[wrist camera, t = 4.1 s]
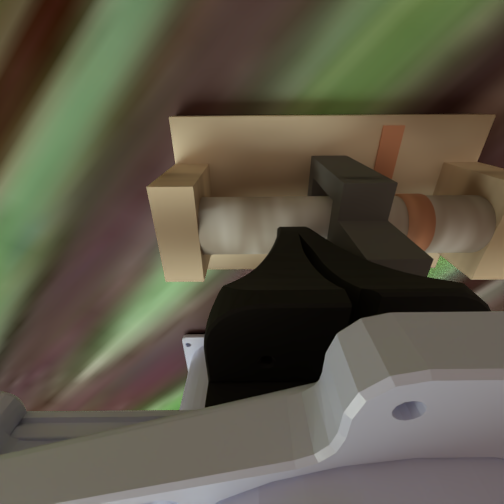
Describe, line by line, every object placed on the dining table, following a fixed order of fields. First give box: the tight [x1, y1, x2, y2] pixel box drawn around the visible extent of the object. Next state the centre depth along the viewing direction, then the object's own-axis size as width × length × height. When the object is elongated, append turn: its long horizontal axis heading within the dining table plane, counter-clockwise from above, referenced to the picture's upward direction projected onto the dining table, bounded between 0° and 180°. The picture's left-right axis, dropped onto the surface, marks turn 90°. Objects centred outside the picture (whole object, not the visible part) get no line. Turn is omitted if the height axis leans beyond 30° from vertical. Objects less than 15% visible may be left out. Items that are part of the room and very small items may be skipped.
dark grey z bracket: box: [307, 155, 434, 277], centre depth 12 cm, size 6×2×9 cm, turn 0°
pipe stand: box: [147, 114, 504, 282], centre depth 15 cm, size 10×18×7 cm, turn 90°
